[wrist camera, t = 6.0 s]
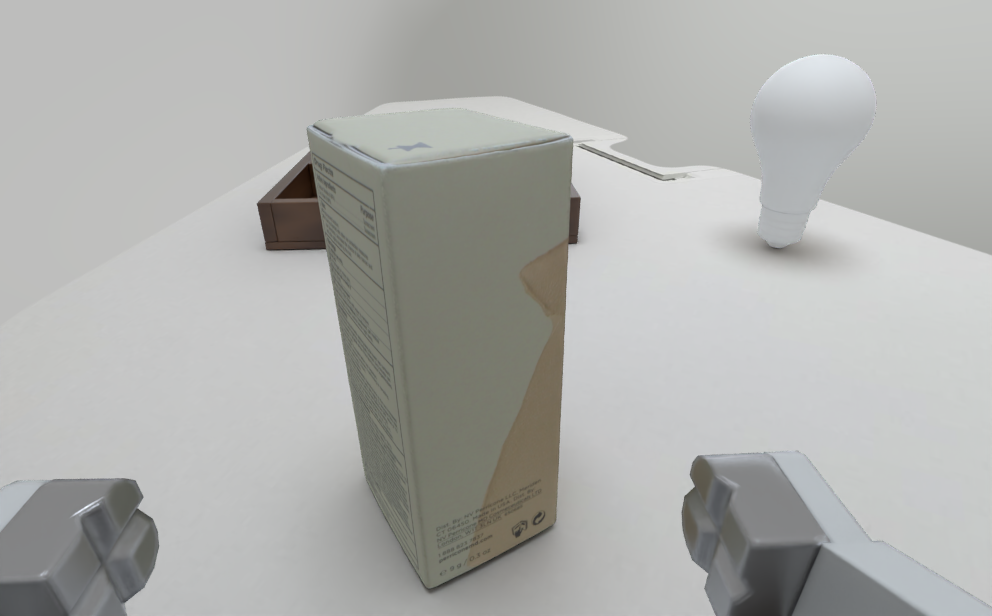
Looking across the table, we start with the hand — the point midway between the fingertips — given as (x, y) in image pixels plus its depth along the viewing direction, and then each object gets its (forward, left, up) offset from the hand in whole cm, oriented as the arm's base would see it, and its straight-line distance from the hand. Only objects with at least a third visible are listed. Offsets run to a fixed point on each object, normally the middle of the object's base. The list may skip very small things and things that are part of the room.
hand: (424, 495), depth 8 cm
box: (0, +6, -7) cm, 9 cm away
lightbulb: (+20, +25, -7) cm, 33 cm away
